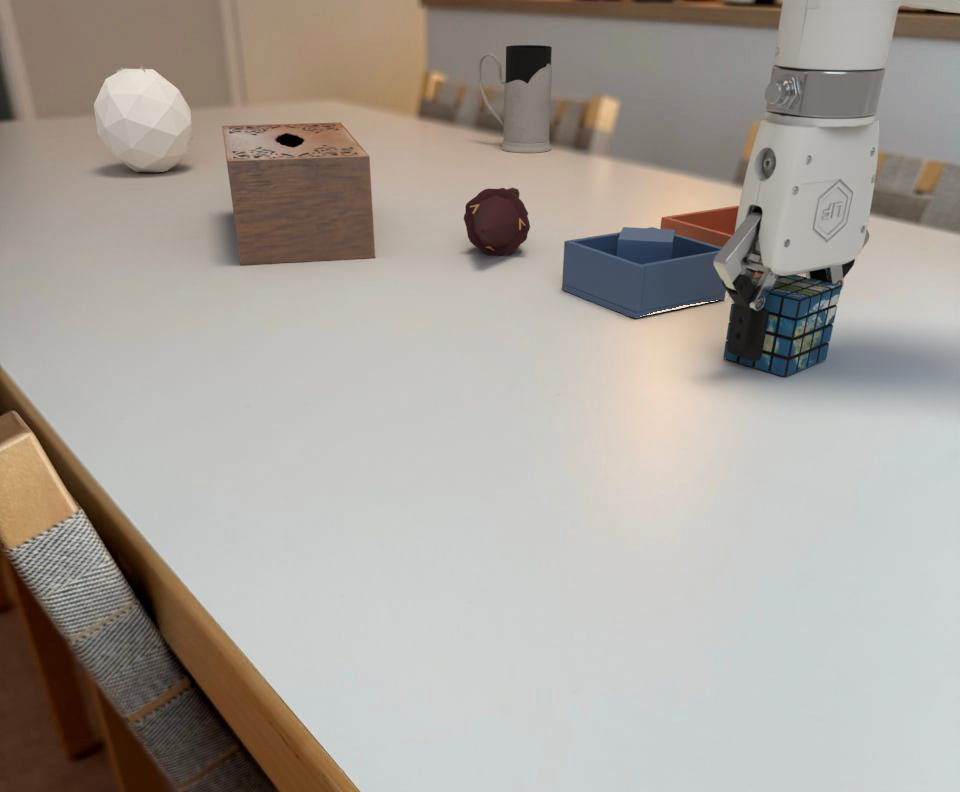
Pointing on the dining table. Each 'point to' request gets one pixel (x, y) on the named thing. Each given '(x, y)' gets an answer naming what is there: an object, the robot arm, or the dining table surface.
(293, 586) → the dining table surface
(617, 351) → the dining table surface
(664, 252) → the blue block
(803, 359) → the puzzle
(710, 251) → the blue bin
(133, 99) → the geodesic sphere
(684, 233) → the terracotta bin
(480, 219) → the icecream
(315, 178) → the tissue box cover
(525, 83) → the glass holder
